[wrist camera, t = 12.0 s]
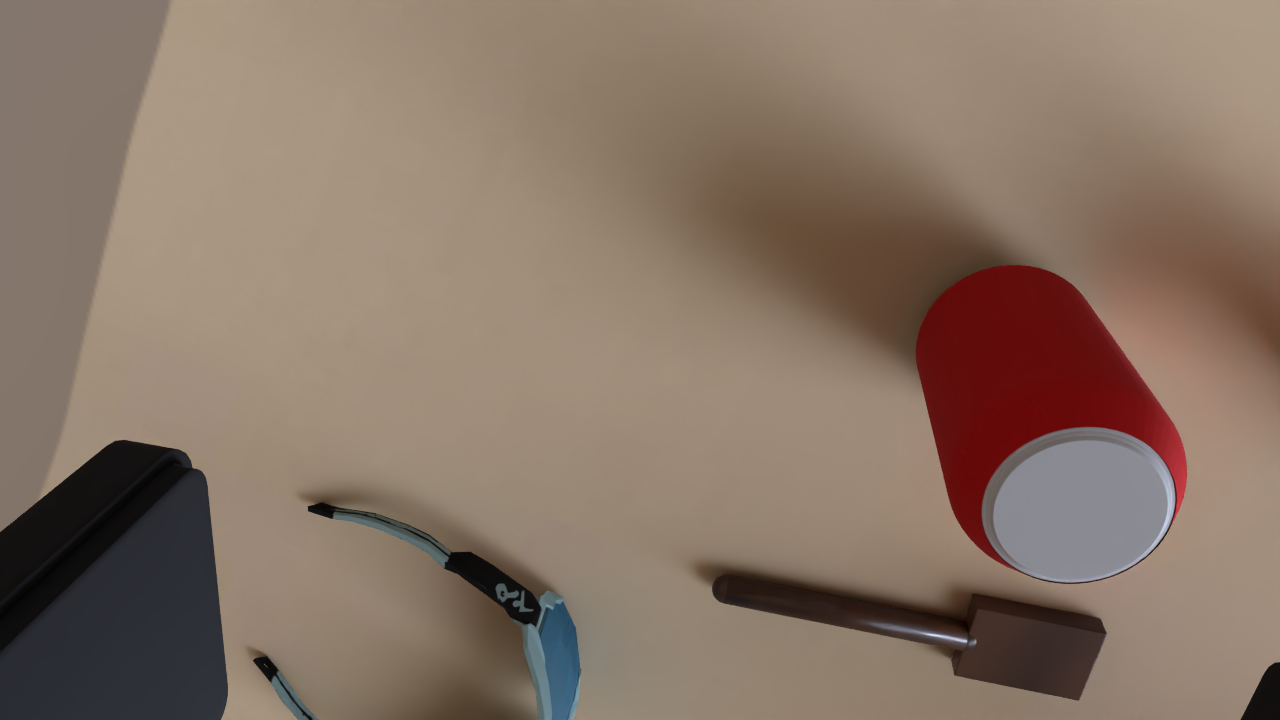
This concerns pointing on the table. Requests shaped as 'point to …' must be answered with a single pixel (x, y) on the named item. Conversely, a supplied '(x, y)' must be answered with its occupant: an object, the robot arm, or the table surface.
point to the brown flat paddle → (954, 633)
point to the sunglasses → (544, 650)
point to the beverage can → (1046, 428)
